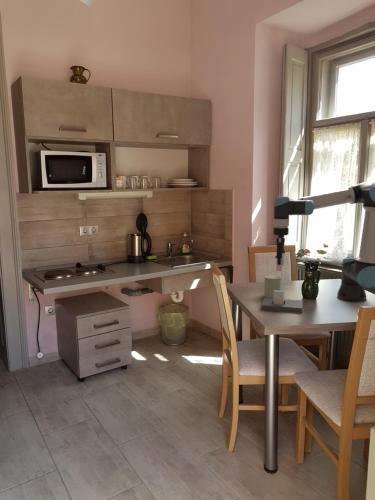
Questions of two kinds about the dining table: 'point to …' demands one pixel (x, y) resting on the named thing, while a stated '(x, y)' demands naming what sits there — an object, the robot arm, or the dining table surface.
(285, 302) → the socket
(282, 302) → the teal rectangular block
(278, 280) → the can
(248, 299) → the dining table surface
